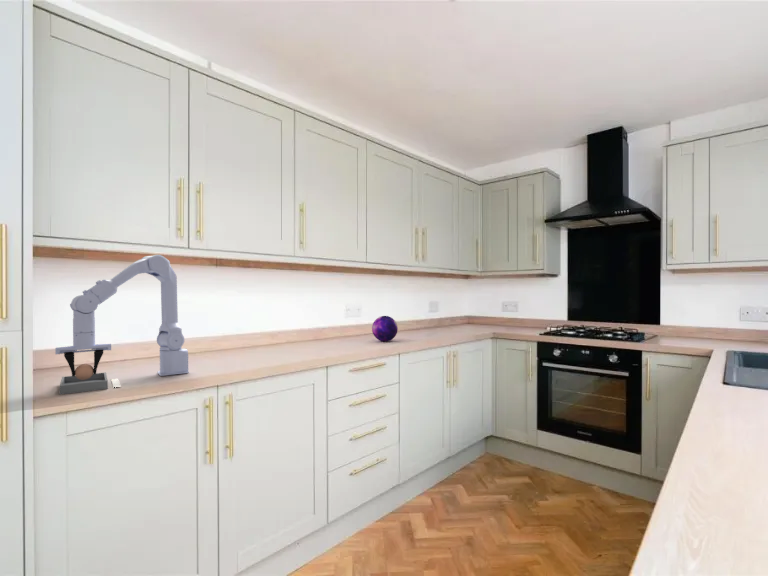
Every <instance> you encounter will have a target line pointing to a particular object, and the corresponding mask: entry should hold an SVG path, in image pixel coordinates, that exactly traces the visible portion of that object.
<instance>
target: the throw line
mask: <svg viewBox="0 0 768 576" xmlns="http://www.w3.org/2000/svg"><path fill="white" fill-rule="evenodd" d="M110 381H111V384H112V388H113V389H117V388H116V387H120V388H122V387H121V383H120V380H119V378H112V379H110ZM114 387H115V388H114Z"/></svg>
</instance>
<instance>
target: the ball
mask: <svg viewBox="0 0 768 576" xmlns="http://www.w3.org/2000/svg"><path fill="white" fill-rule="evenodd" d="M93 374H94V366H92V365H91V364H89V363H88V364H87V363H84V364H79V365H78V366H77V367H75V376H76V377H77V378H78V379H81V380H86V379H88V378H90V377H91V376H92V375H93Z"/></svg>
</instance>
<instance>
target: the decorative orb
mask: <svg viewBox="0 0 768 576" xmlns="http://www.w3.org/2000/svg"><path fill="white" fill-rule="evenodd" d="M371 329H372V330H371V331H372V335H373V336H374V337H375V339H377V340H378V341H380V342H386V343H387V342H390V341H393V339H394V338H395V337H396V336H397V334H398V330H399V329H398V324H397V321H396V320H395V319H394V318H393V317H392V316H389V315H382V316H378V317H377V318H376V319H375V320H374V321H373V323H372V325H371Z"/></svg>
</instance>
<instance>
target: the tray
mask: <svg viewBox="0 0 768 576" xmlns="http://www.w3.org/2000/svg"><path fill="white" fill-rule="evenodd" d="M108 385H109V382H108V375H107V372H96V374H94V373H93V375H92V376H91V377H90V378H88V379H86V380H81V379H78V378H77V377H76V376H72V375H67V376H61V381H60V383H59V385H58V386H59V395H67V394H77V393H82V392H83V393H85V392H92V391H102V390H108V389H109V388H108V387H109V386H108Z"/></svg>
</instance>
